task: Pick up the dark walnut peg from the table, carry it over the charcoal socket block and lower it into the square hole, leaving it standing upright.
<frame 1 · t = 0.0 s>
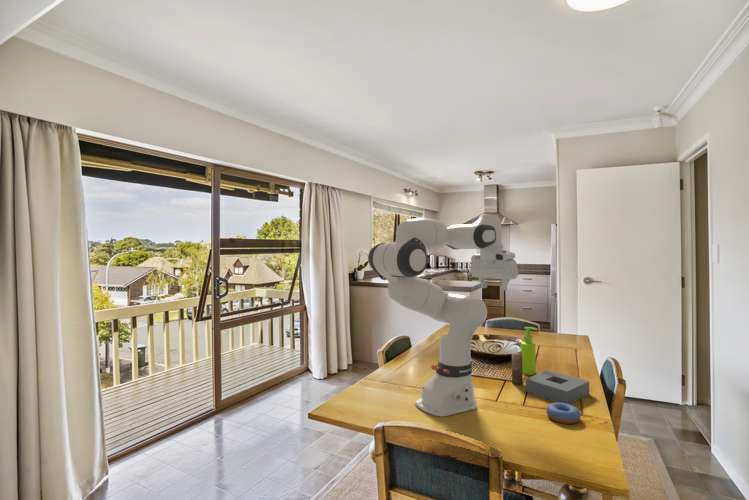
hand: (494, 288, 153), 39 cm above the table, tool pointing down, fingers open, 8 cm apart
soap dispenser: (529, 373, 168), on the table
socket block: (557, 393, 145), on the table
doughnut: (563, 419, 125), on the table
peg: (517, 383, 156), on the table
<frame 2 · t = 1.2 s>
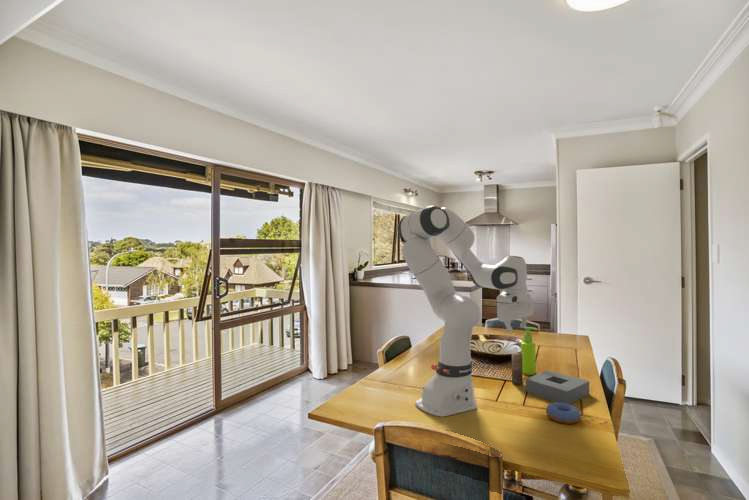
hand: (516, 329, 155), 22 cm above the table, tool pointing down, fingers open, 8 cm apart
nothing on the table moved.
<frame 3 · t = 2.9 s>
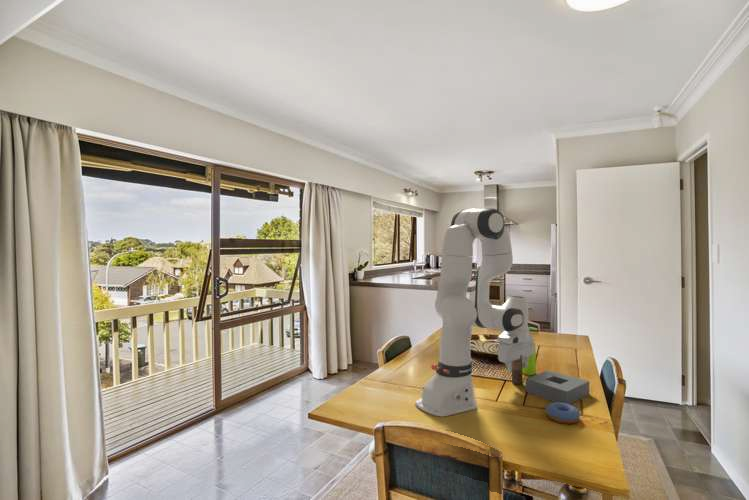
hand: (517, 369, 155), 6 cm above the table, tool pointing down, fingers open, 8 cm apart
nothing on the table moved.
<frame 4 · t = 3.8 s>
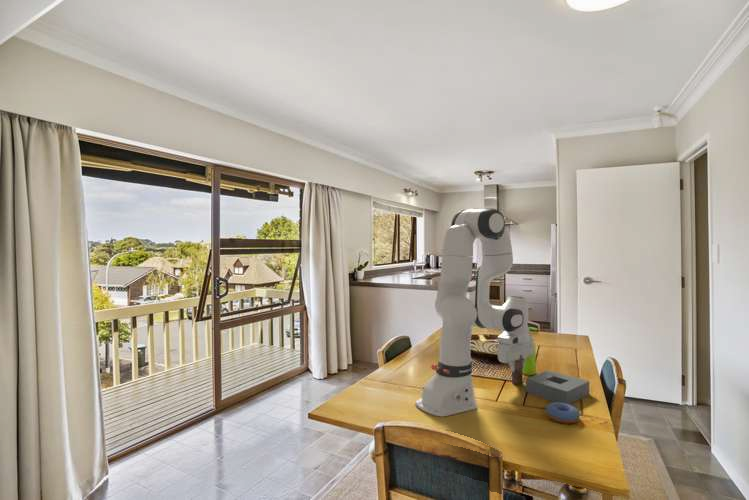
hand: (517, 369, 155), 6 cm above the table, tool pointing down, fingers closed on peg, 4 cm apart
peg: (517, 383, 156), on the table, touching gripper
everything else where it was.
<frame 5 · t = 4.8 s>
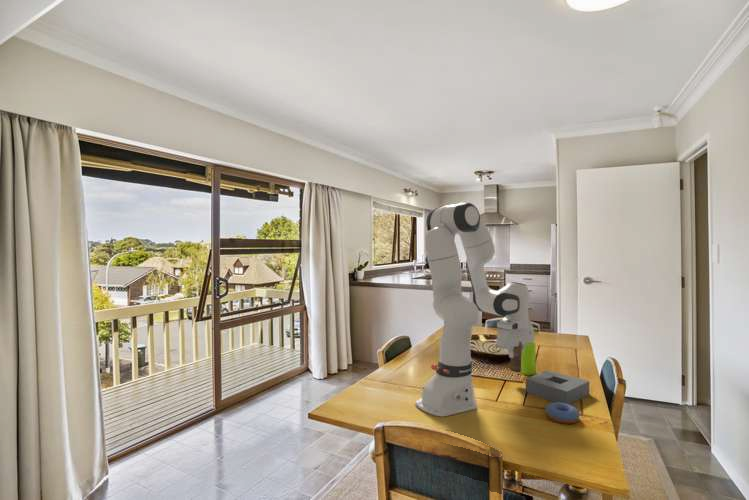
hand: (515, 356, 155), 11 cm above the table, tool pointing down, fingers closed on peg, 4 cm apart
peg: (515, 370, 155), point 5 cm above the table, touching gripper
everything else where it was.
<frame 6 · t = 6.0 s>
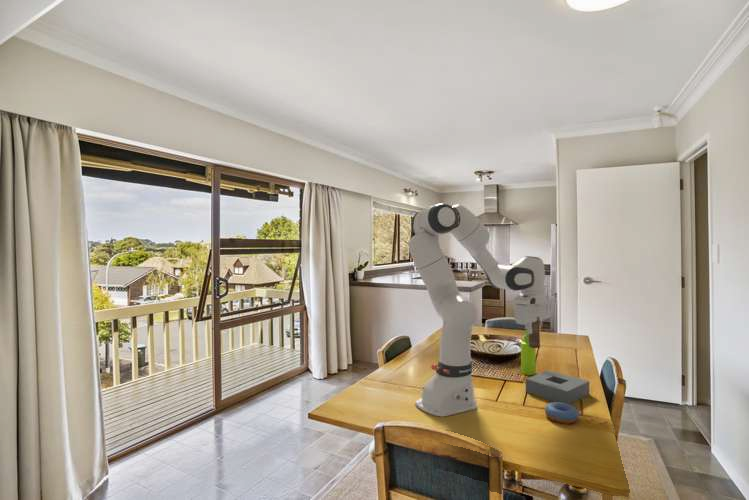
hand: (534, 332, 151), 22 cm above the table, tool pointing down, fingers closed on peg, 4 cm apart
peg: (534, 346, 151), point 16 cm above the table, touching gripper
everything else where it was.
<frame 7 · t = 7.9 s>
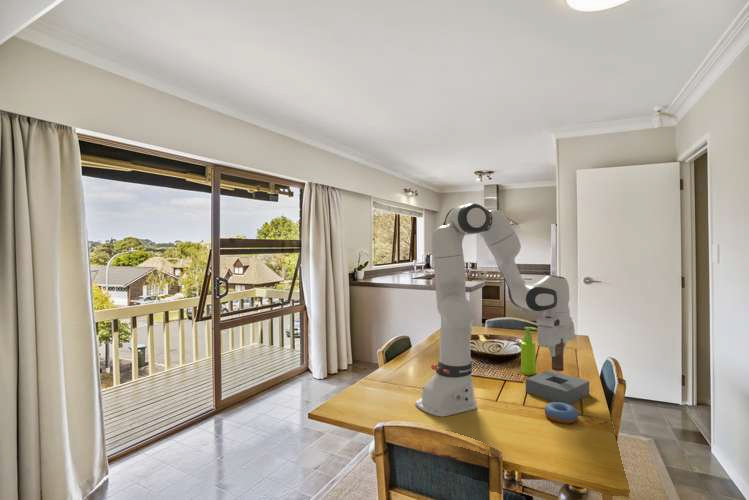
hand: (557, 354, 145), 15 cm above the table, tool pointing down, fingers closed on peg, 4 cm apart
peg: (557, 369, 145), point 9 cm above the table, touching gripper
everything else where it was.
when the fingers open (8 cm above the table, at t = 9.9 s): peg drops 2 cm, resting in socket block.
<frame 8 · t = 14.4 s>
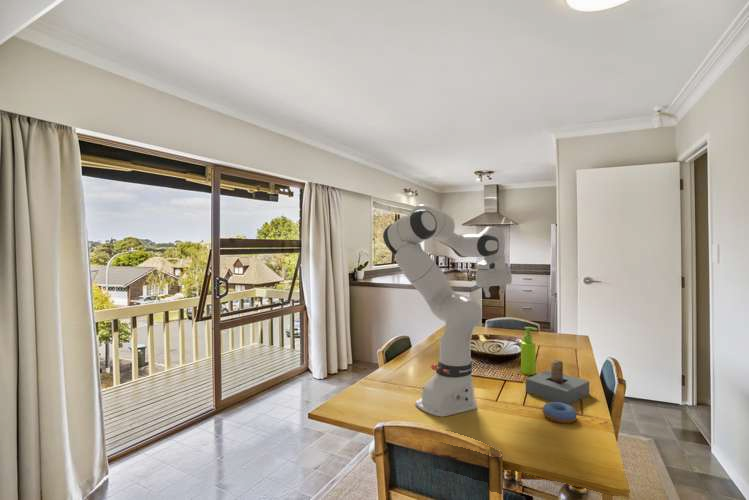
hand: (494, 295, 166), 34 cm above the table, tool pointing down, fingers open, 8 cm apart
peg: (557, 393, 145), resting in socket block
at the end: peg 0.1 cm off-centre on the socket block, point 0.0 cm above the socket block's base; peg tilted 0°; the gripper is holding nothing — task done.
